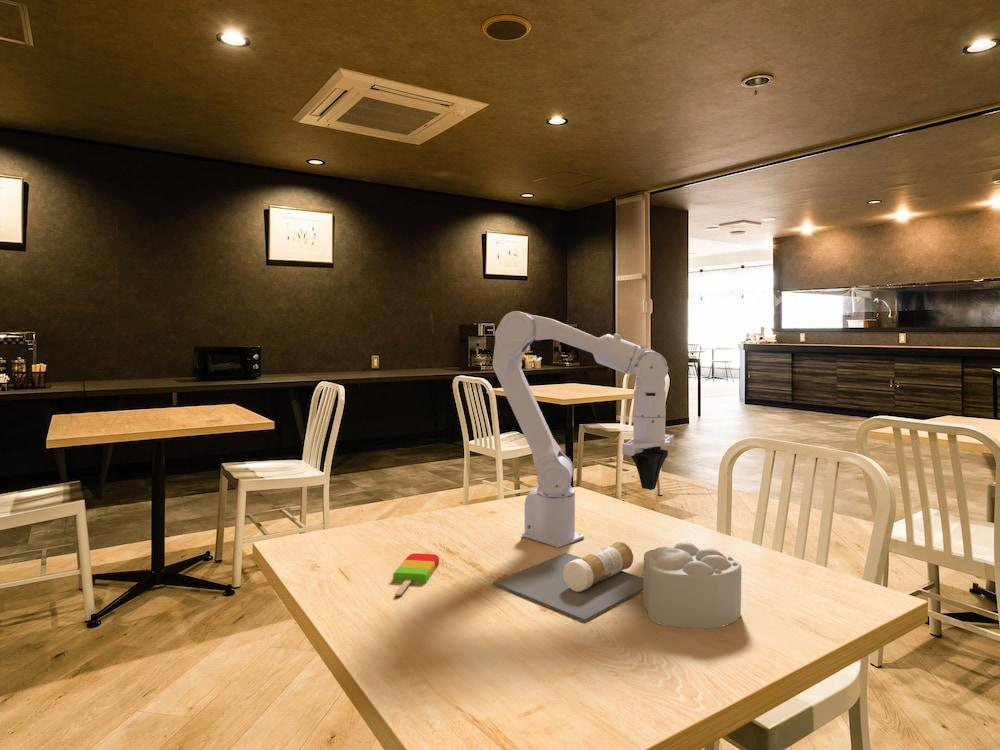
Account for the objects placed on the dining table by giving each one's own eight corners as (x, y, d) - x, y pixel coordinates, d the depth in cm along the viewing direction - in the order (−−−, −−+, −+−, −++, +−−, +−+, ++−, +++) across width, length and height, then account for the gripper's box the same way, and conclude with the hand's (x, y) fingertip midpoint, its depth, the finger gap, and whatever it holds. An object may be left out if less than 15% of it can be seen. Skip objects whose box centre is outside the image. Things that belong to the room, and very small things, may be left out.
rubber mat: (492, 584, 96) (492, 581, 96) (566, 555, 109) (566, 552, 109) (584, 622, 84) (584, 619, 84) (655, 584, 96) (655, 581, 96)
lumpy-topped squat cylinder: (640, 594, 93) (640, 538, 92) (728, 596, 92) (729, 539, 91) (652, 627, 82) (652, 563, 82) (751, 630, 81) (753, 566, 81)
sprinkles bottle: (614, 569, 103) (565, 593, 93) (608, 541, 104) (559, 562, 94) (637, 568, 100) (589, 592, 90) (631, 539, 101) (582, 561, 91)
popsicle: (440, 564, 106) (440, 553, 106) (415, 601, 91) (415, 589, 91) (410, 562, 107) (409, 552, 107) (379, 599, 92) (379, 587, 92)
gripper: (646, 422, 105) (646, 500, 106) (688, 413, 116) (687, 485, 116) (612, 418, 110) (612, 492, 111) (655, 410, 121) (654, 479, 121)
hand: (648, 488), depth 114 cm, fingers closed
